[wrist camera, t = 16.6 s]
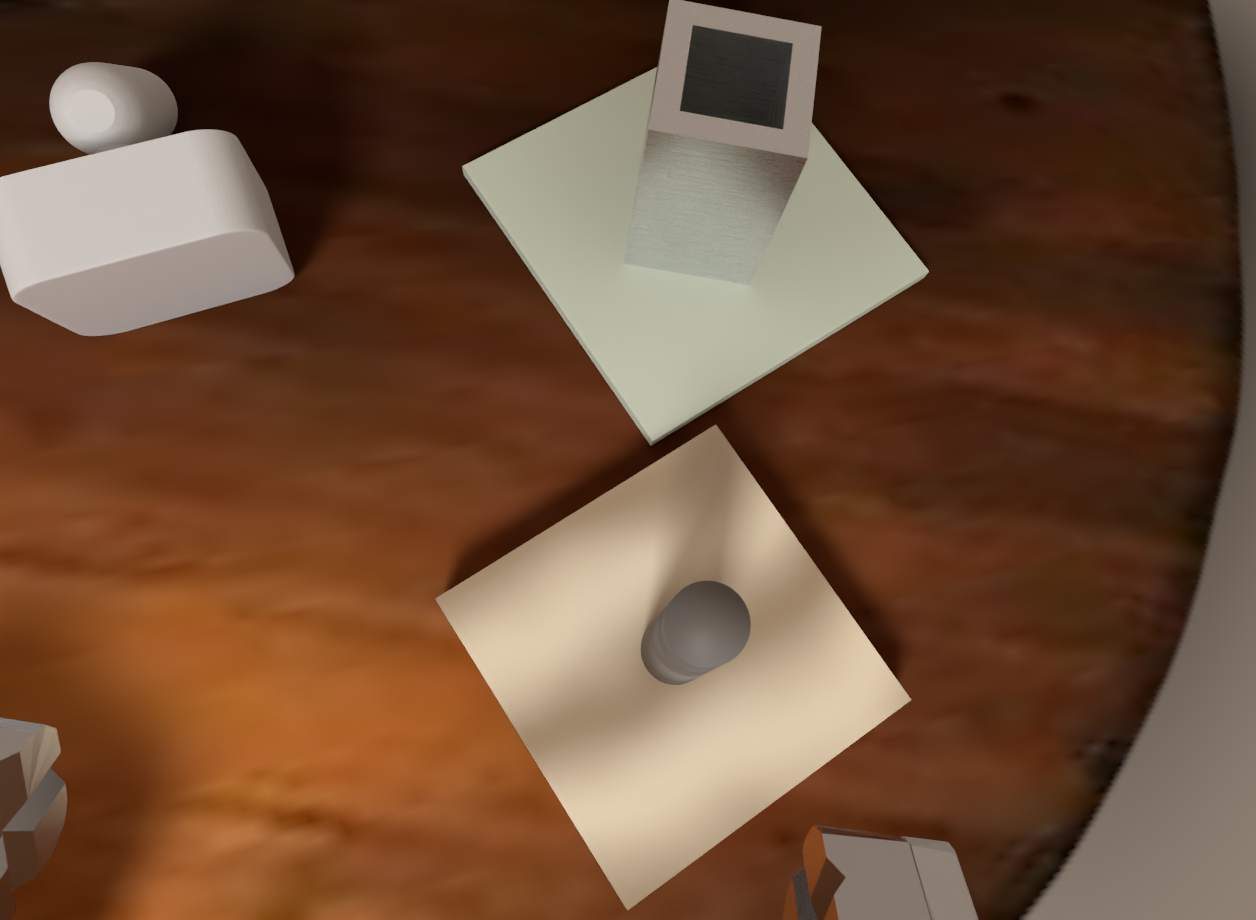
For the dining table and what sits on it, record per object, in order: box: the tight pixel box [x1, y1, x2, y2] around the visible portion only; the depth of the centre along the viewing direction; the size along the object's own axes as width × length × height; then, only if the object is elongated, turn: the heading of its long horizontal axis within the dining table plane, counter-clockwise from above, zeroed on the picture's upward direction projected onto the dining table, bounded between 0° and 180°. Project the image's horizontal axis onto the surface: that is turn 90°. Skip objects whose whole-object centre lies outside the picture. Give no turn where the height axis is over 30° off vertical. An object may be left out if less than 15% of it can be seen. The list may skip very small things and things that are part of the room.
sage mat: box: [462, 67, 929, 446], centre depth 42 cm, size 14×14×1 cm
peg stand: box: [436, 425, 911, 910], centre depth 32 cm, size 12×12×9 cm
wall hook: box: [0, 62, 295, 336], centre depth 36 cm, size 8×10×10 cm
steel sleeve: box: [624, 0, 822, 285], centre depth 37 cm, size 5×5×9 cm
